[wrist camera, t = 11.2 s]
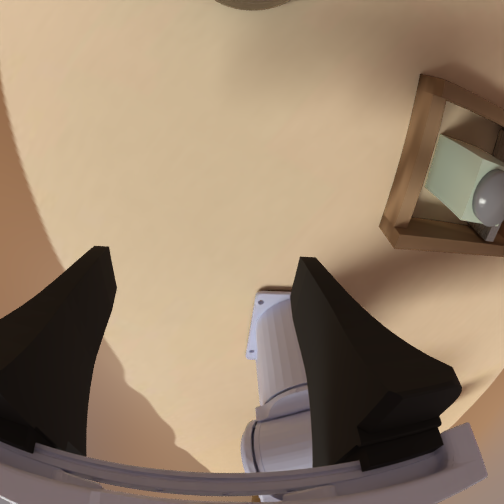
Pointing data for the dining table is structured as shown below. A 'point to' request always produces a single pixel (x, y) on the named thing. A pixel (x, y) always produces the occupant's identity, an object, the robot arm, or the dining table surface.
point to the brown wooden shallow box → (415, 168)
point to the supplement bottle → (252, 4)
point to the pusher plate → (502, 153)
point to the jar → (467, 181)
